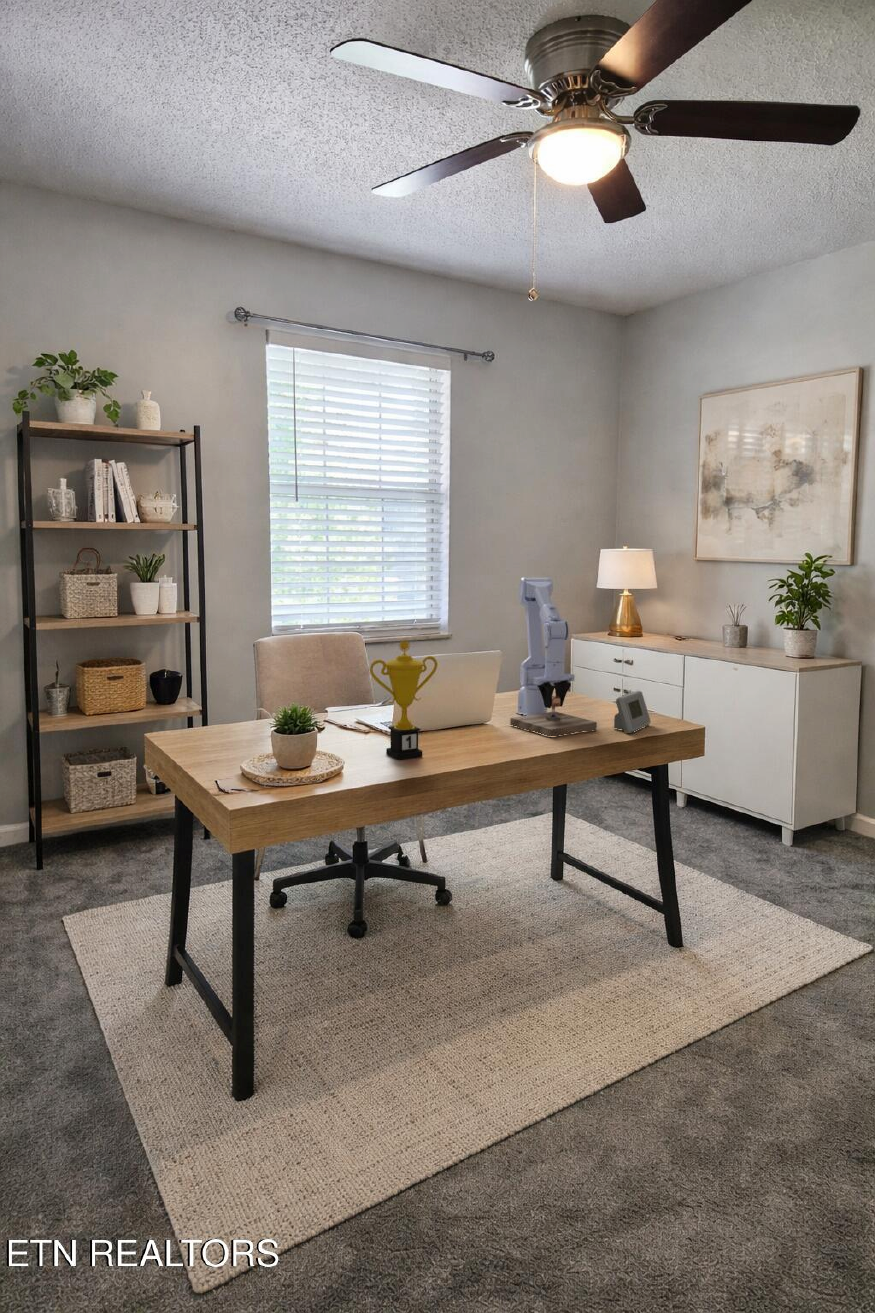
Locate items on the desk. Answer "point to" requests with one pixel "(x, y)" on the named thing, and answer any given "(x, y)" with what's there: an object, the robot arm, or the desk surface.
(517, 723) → the block
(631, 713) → the digital clock
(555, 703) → the plunger
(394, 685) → the trophy
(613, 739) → the desk surface
